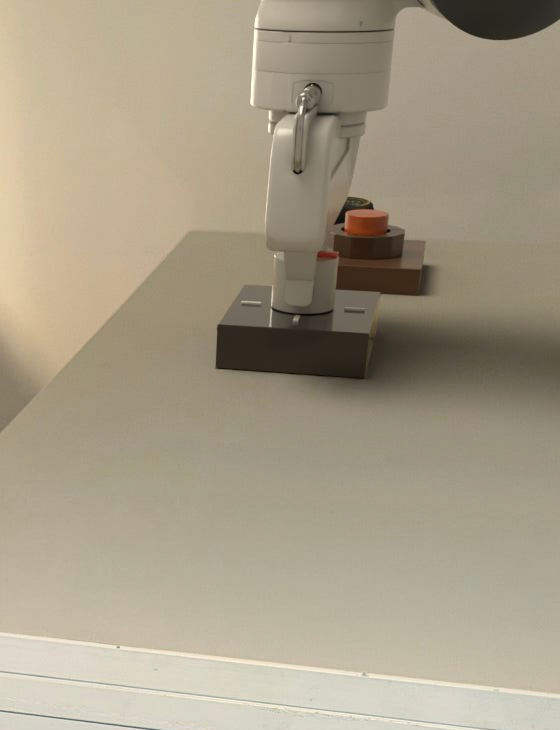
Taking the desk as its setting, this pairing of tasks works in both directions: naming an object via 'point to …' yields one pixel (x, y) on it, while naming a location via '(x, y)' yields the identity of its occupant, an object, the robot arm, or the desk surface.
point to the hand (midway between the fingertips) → (303, 293)
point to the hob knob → (322, 287)
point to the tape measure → (353, 207)
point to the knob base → (298, 335)
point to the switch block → (377, 261)
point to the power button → (366, 222)
